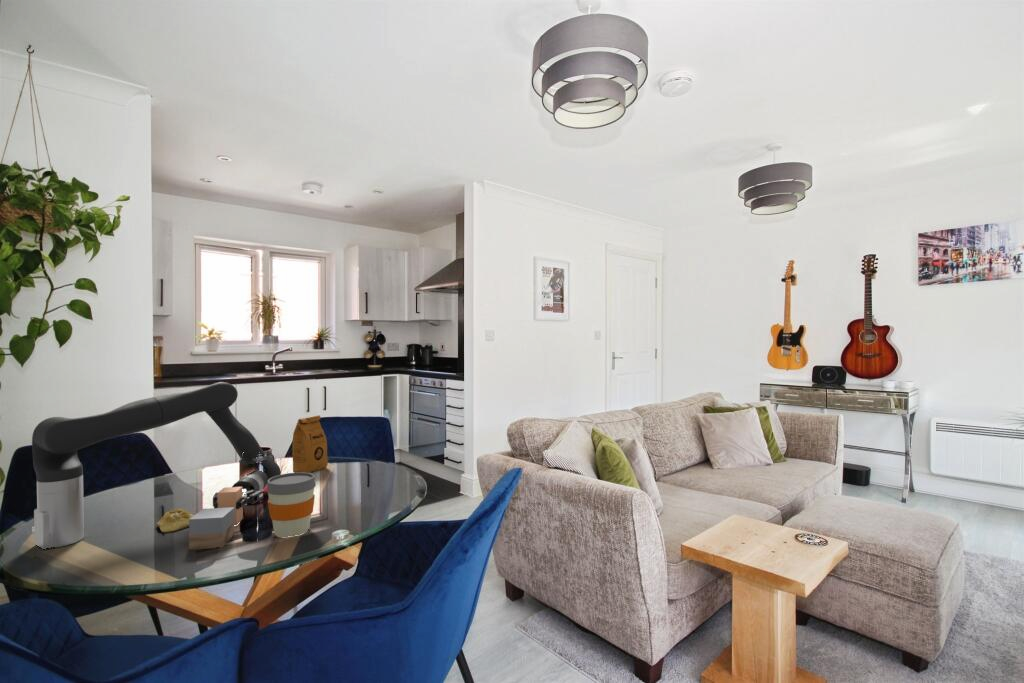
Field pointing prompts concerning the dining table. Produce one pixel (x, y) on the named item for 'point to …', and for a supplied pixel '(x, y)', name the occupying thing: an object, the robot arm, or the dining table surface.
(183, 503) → the dining table surface
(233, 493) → the terracotta block
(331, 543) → the dining table surface
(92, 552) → the dining table surface
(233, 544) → the dining table surface
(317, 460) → the coffee package
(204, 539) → the tower base
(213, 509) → the grey flat square block
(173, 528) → the golden lumpy piece
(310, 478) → the reusable coffee cup
